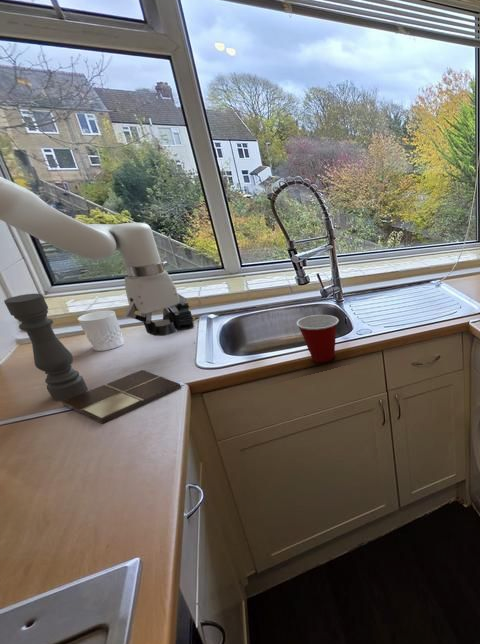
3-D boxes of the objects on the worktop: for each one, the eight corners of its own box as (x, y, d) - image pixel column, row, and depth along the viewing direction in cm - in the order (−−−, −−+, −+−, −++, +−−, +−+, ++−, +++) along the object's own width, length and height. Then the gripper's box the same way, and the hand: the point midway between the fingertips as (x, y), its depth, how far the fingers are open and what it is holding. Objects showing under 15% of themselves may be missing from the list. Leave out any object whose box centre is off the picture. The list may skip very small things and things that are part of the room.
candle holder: (92, 391, 100) (48, 296, 90) (57, 403, 95) (6, 305, 85) (82, 383, 103) (39, 291, 93) (48, 395, 98) (-2, 299, 88)
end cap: (167, 323, 138) (160, 304, 135) (192, 318, 142) (187, 300, 139) (166, 333, 130) (160, 314, 128) (194, 328, 134) (188, 309, 132)
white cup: (127, 337, 127) (115, 308, 123) (126, 347, 121) (114, 316, 117) (92, 344, 122) (79, 314, 118) (89, 354, 117) (75, 322, 113)
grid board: (102, 424, 89) (100, 419, 88) (64, 405, 95) (61, 401, 94) (181, 387, 102) (179, 383, 102) (143, 373, 108) (141, 369, 108)
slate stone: (161, 337, 114) (158, 327, 112) (150, 333, 115) (147, 324, 114) (180, 330, 118) (177, 321, 117) (169, 327, 120) (166, 318, 118)
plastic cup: (350, 358, 118) (344, 320, 113) (311, 370, 111) (304, 331, 107) (335, 345, 125) (329, 309, 121) (298, 356, 118) (290, 319, 114)
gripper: (171, 261, 118) (188, 318, 125) (97, 275, 103) (121, 339, 111) (188, 264, 115) (204, 323, 122) (114, 279, 101) (138, 345, 108)
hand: (165, 330), depth 116 cm, fingers closed on slate stone, 5 cm apart
